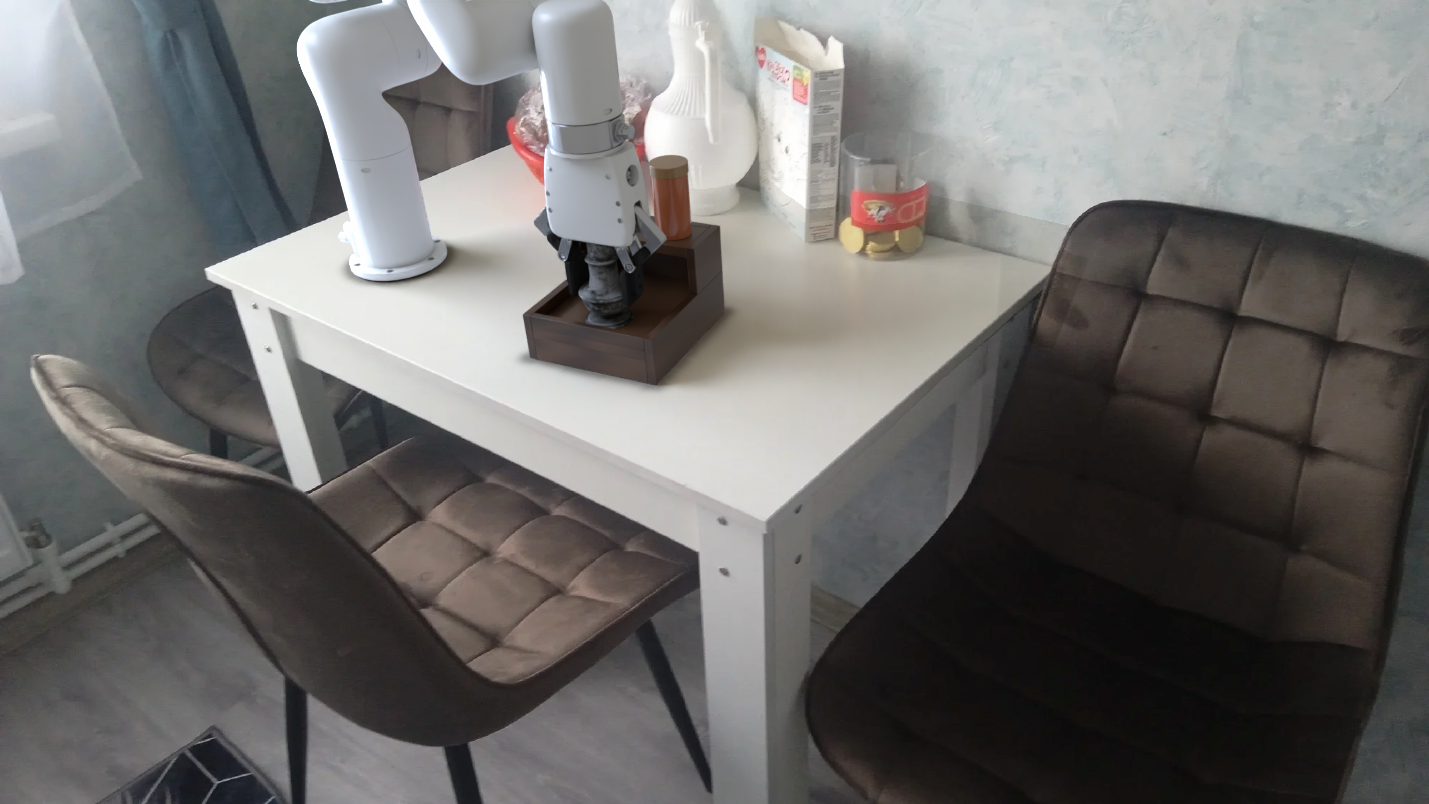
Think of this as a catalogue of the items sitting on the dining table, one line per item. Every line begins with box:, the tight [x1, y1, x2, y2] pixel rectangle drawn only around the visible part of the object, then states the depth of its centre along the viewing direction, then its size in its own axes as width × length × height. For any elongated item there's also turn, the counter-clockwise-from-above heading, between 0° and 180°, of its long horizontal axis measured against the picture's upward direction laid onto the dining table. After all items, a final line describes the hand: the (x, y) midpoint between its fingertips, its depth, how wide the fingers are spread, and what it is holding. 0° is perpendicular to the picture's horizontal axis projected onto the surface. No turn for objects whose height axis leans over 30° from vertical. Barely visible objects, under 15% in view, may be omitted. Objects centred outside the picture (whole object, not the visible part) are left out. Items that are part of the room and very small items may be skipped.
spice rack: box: [522, 215, 726, 386], centre depth 115 cm, size 16×17×11 cm
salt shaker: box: [579, 242, 634, 329], centre depth 110 cm, size 6×6×12 cm
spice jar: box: [648, 154, 692, 240], centre depth 112 cm, size 4×4×8 cm
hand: (606, 293), depth 112 cm, fingers closed on salt shaker, 6 cm apart
